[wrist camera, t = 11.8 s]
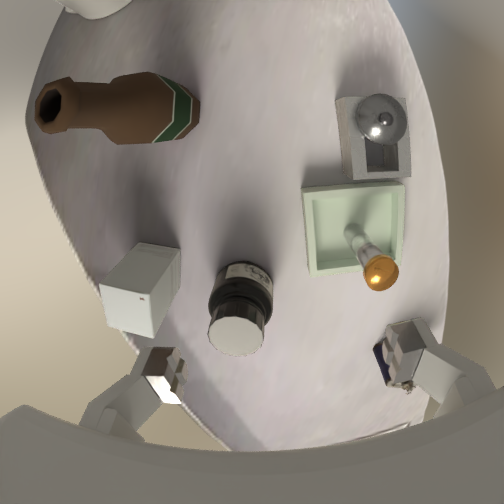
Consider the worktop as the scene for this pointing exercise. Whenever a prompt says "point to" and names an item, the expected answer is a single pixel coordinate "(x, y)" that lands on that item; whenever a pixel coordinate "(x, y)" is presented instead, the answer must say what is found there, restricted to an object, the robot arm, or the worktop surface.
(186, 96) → the beer bottle
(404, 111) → the block
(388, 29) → the worktop surface
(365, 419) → the worktop surface
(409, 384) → the flask
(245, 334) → the ink bottle
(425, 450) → the robot arm
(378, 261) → the pin
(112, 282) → the supplement box
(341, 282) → the worktop surface
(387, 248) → the tray
